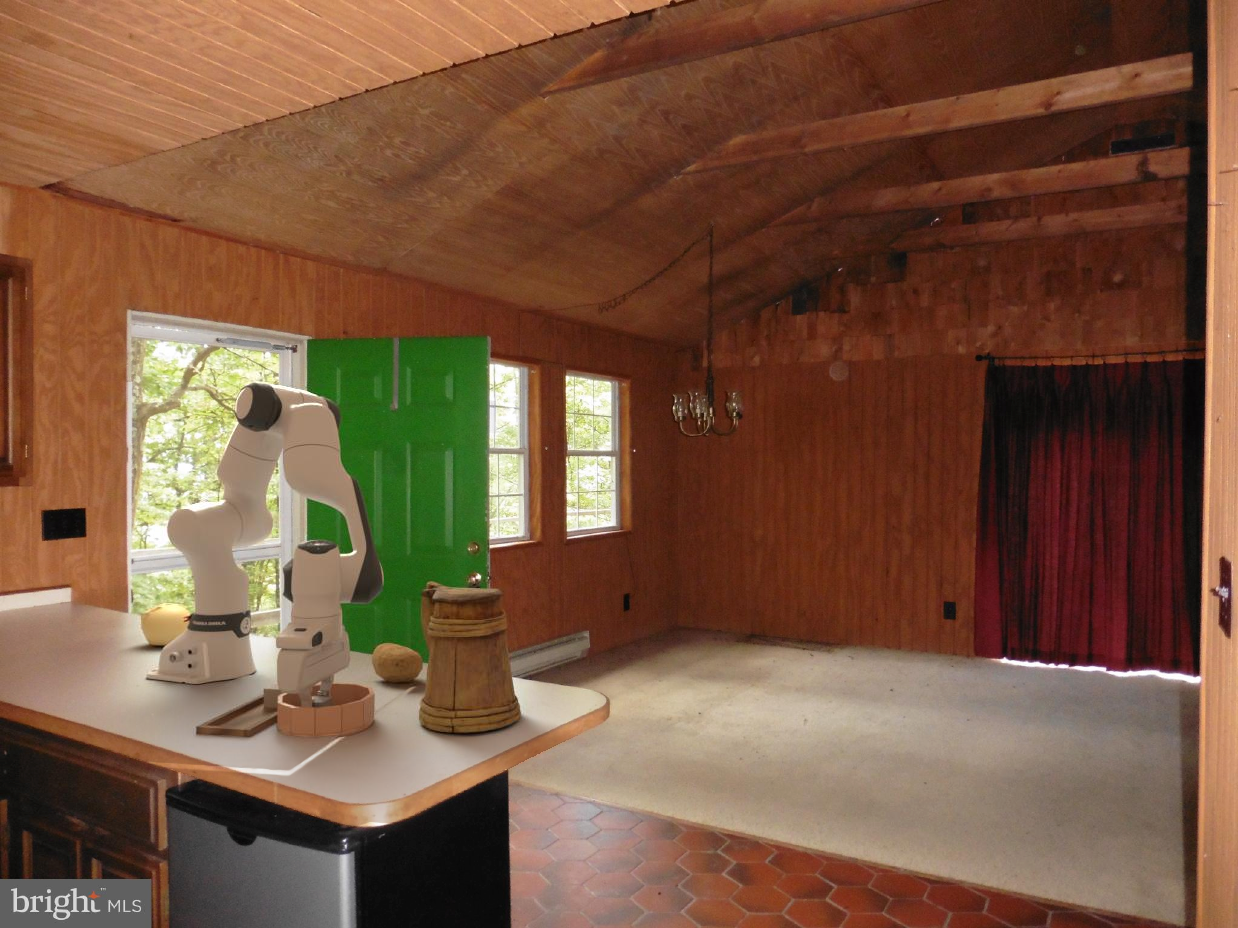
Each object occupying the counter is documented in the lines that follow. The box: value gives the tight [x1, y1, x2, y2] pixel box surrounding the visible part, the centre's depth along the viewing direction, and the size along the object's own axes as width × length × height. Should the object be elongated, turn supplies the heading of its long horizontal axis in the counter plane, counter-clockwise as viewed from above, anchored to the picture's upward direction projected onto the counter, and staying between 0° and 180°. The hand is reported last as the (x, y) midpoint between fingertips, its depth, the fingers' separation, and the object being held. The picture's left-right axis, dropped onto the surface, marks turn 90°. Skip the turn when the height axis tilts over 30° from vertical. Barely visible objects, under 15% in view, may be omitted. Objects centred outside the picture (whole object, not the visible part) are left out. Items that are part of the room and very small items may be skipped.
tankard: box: [418, 581, 522, 734], centre depth 156 cm, size 18×24×25 cm
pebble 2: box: [263, 683, 283, 708], centre depth 161 cm, size 4×4×4 cm
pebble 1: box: [300, 696, 332, 707], centre depth 152 cm, size 4×4×4 cm
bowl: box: [276, 682, 376, 739], centre depth 151 cm, size 17×17×6 cm
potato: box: [371, 642, 424, 684], centre depth 181 cm, size 10×14×8 cm
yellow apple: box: [140, 602, 192, 646], centre depth 216 cm, size 12×12×11 cm
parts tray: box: [195, 693, 277, 738], centre depth 156 cm, size 10×26×2 cm, turn 172°
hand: (316, 704), depth 152 cm, fingers open, 4 cm apart
